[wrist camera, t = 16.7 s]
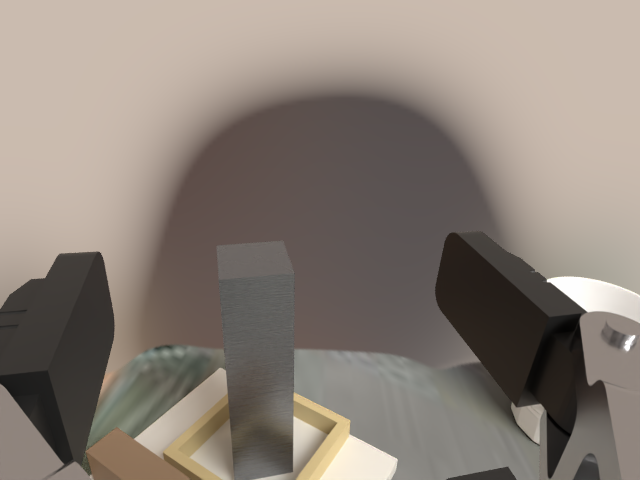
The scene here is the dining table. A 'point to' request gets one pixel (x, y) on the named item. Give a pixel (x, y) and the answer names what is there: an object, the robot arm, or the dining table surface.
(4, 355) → the robot arm
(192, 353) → the dining table surface
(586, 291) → the white cup
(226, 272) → the bar
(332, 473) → the white board with frames
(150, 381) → the dining table surface
